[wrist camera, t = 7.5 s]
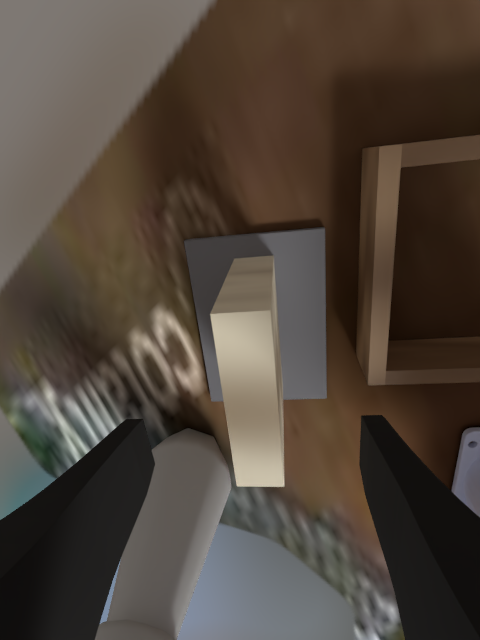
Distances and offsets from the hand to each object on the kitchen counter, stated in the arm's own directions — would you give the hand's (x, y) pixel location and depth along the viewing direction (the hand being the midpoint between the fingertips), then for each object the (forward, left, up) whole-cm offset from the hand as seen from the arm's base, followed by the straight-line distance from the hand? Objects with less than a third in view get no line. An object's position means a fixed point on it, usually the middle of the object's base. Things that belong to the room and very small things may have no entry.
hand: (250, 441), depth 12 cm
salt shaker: (-9, +6, -9) cm, 14 cm away
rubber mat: (0, 0, -9) cm, 9 cm away
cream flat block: (0, 0, -9) cm, 9 cm away
